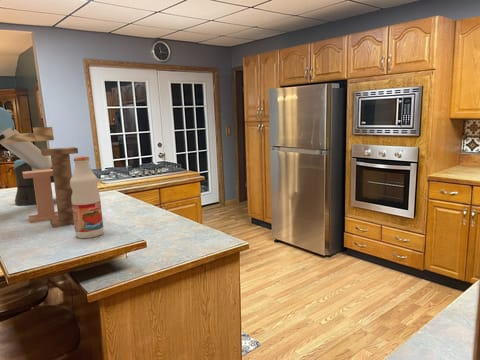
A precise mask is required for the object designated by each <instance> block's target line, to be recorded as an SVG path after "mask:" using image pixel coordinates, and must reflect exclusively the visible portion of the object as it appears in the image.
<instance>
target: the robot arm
mask: <svg viewBox="0 0 480 360" xmlns="http://www.w3.org/2000/svg"><path fill="white" fill-rule="evenodd" d="M12 118H13V116H12V114H11V113H10V112H9V111H8V110H6V109H5V108H3V107H2V106H1V107H0V145H1V146H2V147H4V148H5V149H6V150H8V151H9V152H10V153H12V154H13V155H15V157H17V158H19V159H16V160H15V161H13V171H14V177H15V182H16V187H17V188H16V195H15V198H14V203H15V205H16V206H32V205H37V204H36V197H35V189H34V182H33V178H26V179H24V178H23V173H22V172H26V171H36V170H47V169H52V162H51V155H50V156H43V155H42V153H41V149H40V148H39V147H38V146H37V145H35V144H34V143H32V141H29V142H12V143H1V142H3V141H4V140H6V139H8V138H9V137H11V136H13V135H15V134H21V133H20V132H19V131H18V130H17V129H15V128H16V126H15V123H14V119H12ZM50 179H51V183H54V178H53V176H50Z"/></svg>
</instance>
